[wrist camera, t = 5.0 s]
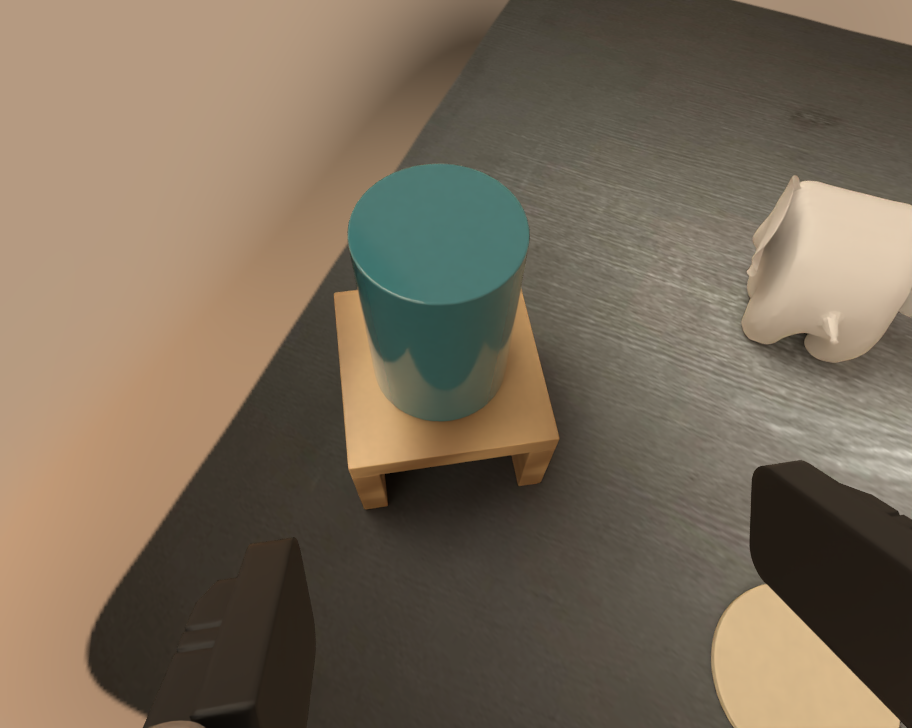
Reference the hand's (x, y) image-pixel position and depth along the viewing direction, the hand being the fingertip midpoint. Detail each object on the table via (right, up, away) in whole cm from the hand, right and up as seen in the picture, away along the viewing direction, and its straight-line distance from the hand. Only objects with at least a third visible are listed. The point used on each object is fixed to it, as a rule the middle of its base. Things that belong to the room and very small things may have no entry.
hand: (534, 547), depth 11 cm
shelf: (-2, 0, +23) cm, 23 cm away
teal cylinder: (-2, +3, +18) cm, 18 cm away
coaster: (+14, -11, +17) cm, 25 cm away
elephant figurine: (+19, +7, +27) cm, 34 cm away
